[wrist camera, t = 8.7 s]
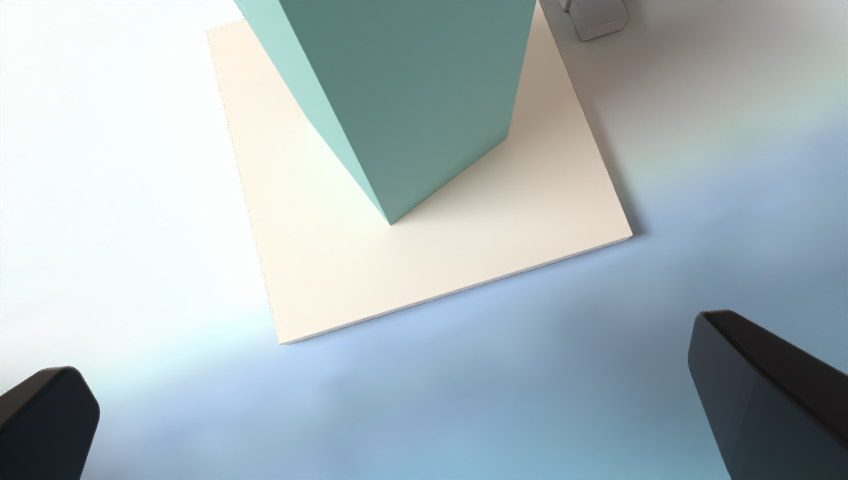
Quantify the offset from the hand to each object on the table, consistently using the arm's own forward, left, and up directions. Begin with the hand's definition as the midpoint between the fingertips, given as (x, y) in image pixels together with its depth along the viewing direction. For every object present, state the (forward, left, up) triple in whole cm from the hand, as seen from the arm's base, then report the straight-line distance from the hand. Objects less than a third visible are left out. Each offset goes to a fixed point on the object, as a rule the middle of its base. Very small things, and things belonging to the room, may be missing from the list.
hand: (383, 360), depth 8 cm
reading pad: (+8, -2, -10) cm, 13 cm away
